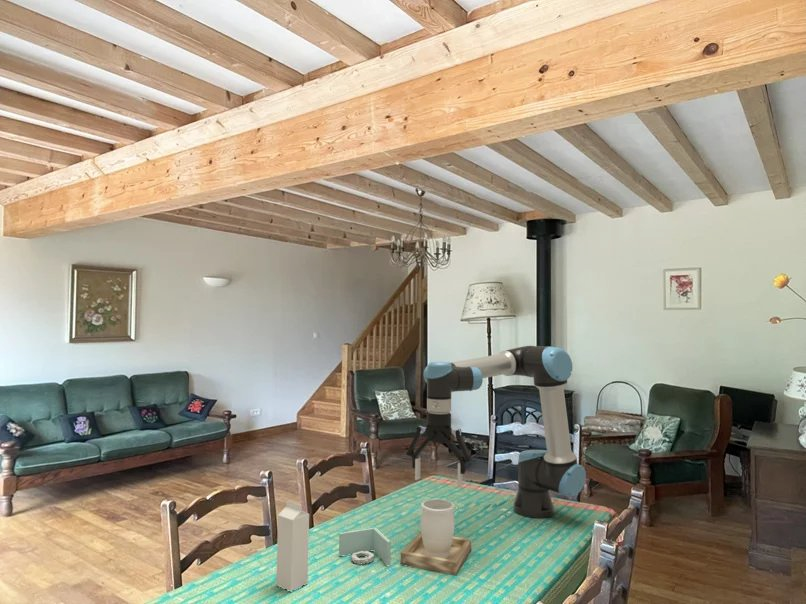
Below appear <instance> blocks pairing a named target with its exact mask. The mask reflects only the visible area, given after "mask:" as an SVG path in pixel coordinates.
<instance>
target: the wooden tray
mask: <svg viewBox="0 0 806 604" xmlns="http://www.w3.org/2000/svg"><path fill="white" fill-rule="evenodd" d="M424 549H425V547H424V544H423V541H422V533H421V530H420V531H419V532H418V534H416V535H415V537H414V538H413V539H412V540H411V541H410V542H409V543H408V545H407V546H405V547H404V548H403V549H402V550H401V552H400V564H402V565H401V566H404V565H407V566H406V567H409V566H411V567H410V568H414V567H416V568H415V569H419V568H421V569H420V570H426V571H430V572H436V573H440V572H441V573H440V574H444V575H452V576H457V575H458V573H459V572H460V570H461V568H462V567H463V565H464V563H465V562H466V560H467V558H468V557H469V555H470V554H471V552H472V539H470V538H465V537H460V536H459V537H458V536H453V540H452V544H451V547H450V549H449V550H450V552H451V555H450V556H449V557H448V558H439V557H434V556H428V555H424Z"/></svg>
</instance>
